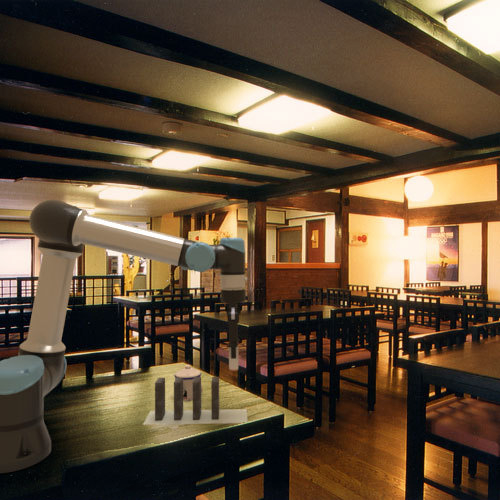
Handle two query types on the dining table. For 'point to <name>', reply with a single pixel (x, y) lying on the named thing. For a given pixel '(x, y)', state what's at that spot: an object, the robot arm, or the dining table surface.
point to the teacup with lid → (188, 381)
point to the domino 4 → (215, 398)
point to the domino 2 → (178, 398)
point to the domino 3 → (196, 398)
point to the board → (205, 417)
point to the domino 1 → (159, 399)
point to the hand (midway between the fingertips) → (233, 366)
